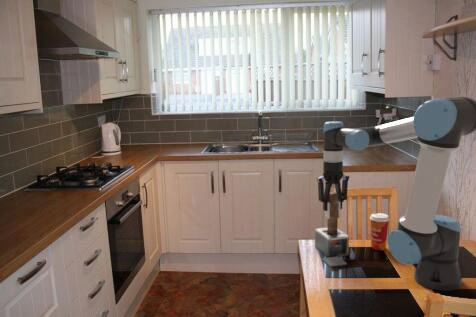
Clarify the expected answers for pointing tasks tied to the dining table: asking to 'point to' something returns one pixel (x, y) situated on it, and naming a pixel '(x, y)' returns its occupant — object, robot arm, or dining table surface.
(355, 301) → the dining table surface
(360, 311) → the dining table surface
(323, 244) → the box
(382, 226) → the paper cup
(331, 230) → the stylus
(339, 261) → the mat
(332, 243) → the button
